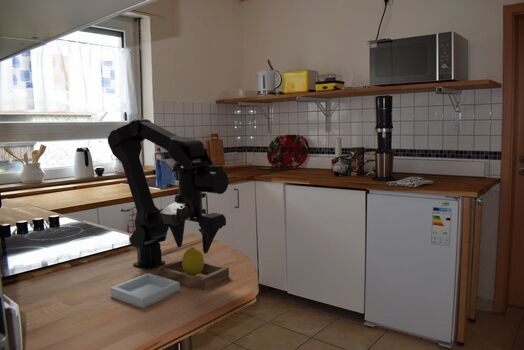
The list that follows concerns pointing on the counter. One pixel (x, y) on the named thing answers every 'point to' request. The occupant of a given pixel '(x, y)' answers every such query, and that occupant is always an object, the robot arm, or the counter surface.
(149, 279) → the dish
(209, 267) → the holder frame
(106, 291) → the counter surface
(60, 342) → the counter surface
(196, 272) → the lemon
